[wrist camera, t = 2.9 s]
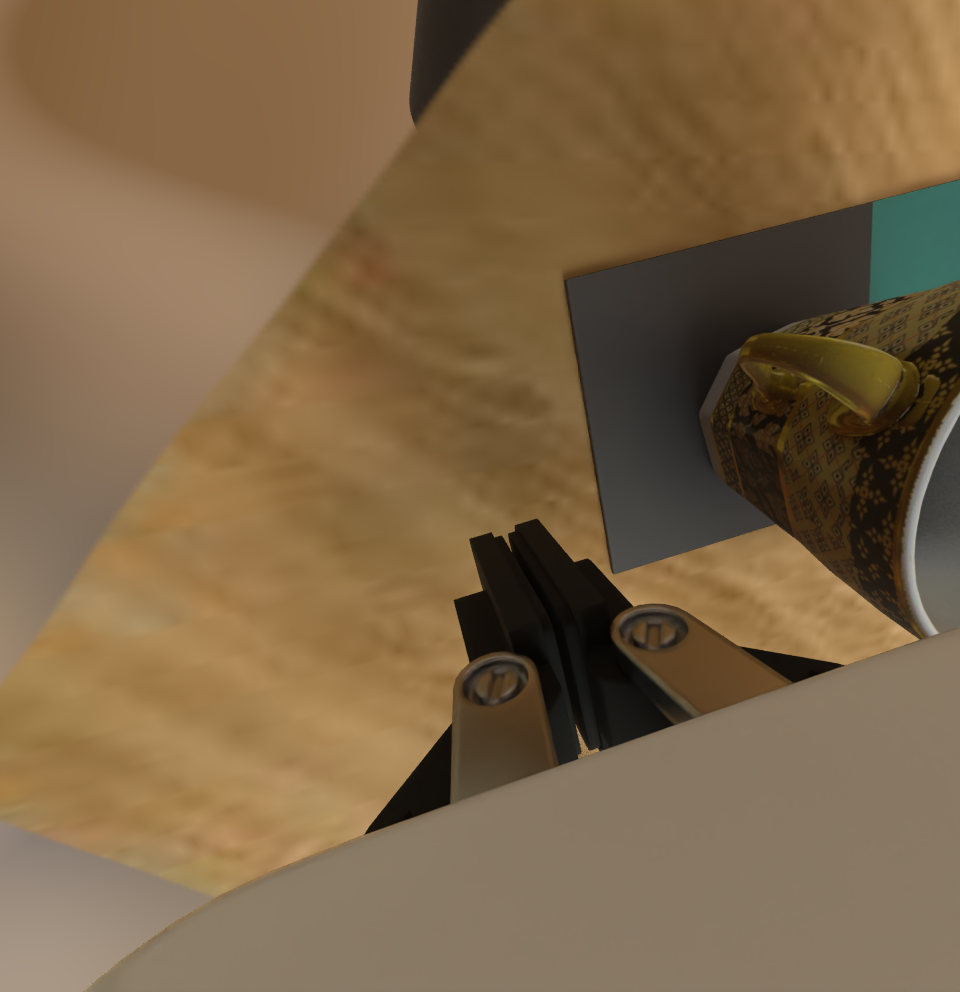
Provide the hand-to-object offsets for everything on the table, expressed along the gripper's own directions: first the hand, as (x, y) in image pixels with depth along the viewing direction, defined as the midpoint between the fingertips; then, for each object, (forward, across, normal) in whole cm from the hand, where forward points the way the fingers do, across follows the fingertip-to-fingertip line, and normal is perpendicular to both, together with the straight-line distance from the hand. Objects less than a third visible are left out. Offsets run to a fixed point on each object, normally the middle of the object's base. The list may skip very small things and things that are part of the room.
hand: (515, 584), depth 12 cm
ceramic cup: (+8, -12, 0) cm, 14 cm away
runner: (+8, -17, 0) cm, 19 cm away
